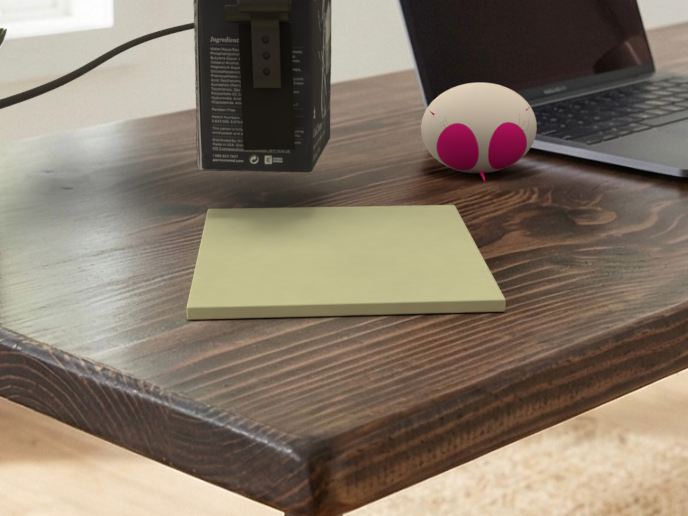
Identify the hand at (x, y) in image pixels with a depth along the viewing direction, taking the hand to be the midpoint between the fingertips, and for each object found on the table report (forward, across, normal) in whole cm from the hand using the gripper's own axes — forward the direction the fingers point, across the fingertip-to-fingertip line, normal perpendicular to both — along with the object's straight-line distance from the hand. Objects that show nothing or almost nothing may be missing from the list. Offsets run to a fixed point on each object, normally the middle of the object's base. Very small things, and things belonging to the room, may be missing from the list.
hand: (269, 129), depth 74 cm
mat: (+5, -12, -3) cm, 13 cm away
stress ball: (+5, +8, -14) cm, 17 cm away
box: (+2, 0, 0) cm, 2 cm away
